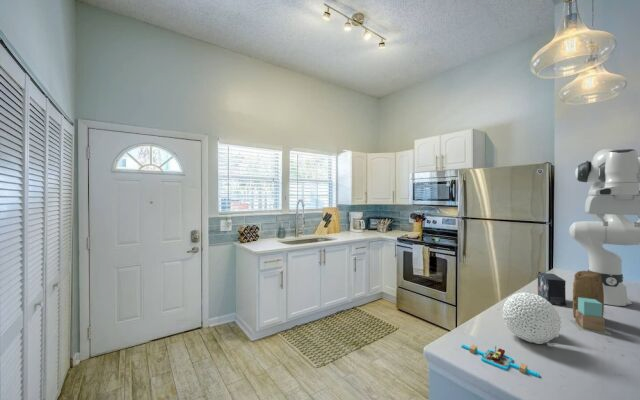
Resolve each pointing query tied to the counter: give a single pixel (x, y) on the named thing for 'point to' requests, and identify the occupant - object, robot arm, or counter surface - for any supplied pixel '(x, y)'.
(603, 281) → the robot arm
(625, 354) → the counter surface
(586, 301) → the teal cube
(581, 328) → the square tile
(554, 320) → the white coral
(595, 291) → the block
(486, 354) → the gear mechanism
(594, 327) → the walnut base block
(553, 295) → the small box
